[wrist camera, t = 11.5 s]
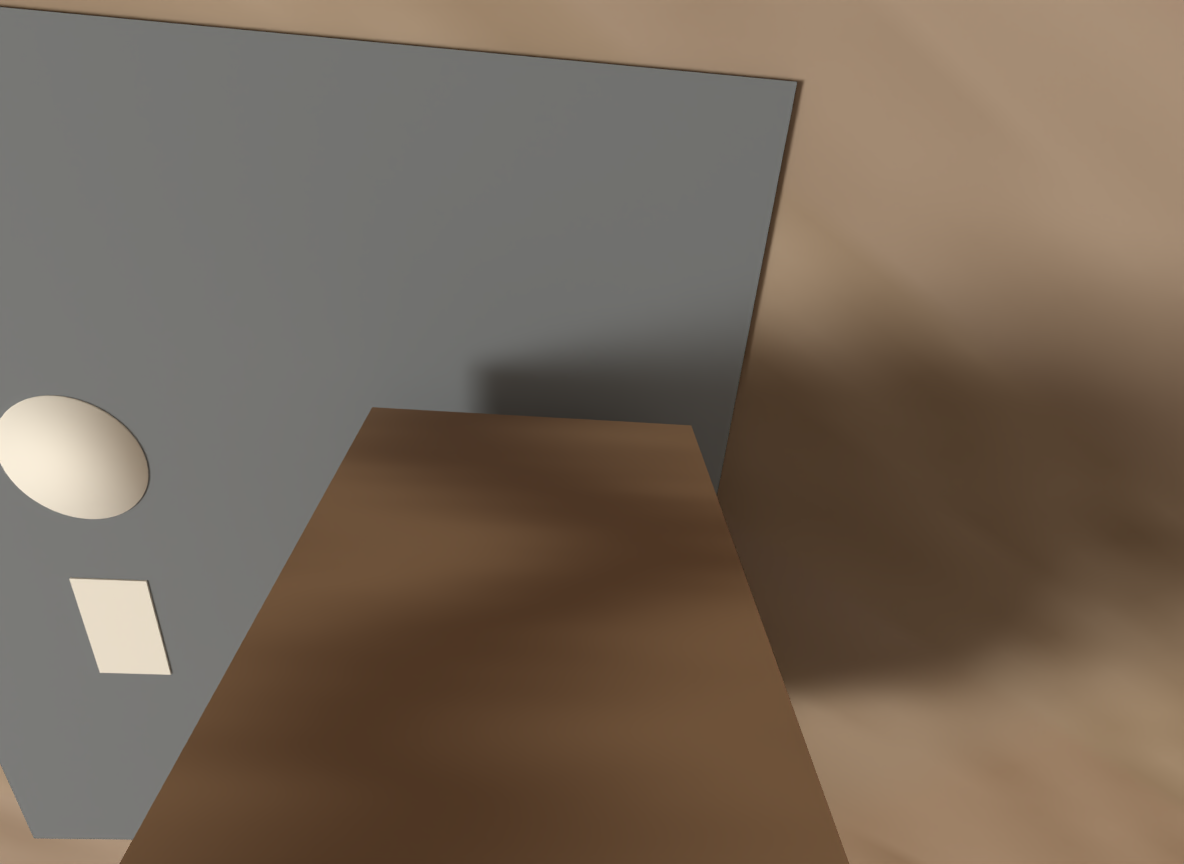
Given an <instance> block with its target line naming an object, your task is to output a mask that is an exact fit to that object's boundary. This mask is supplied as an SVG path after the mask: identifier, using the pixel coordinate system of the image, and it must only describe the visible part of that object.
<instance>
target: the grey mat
mask: <svg viewBox="0 0 1184 864" xmlns="http://www.w3.org/2000/svg"><path fill="white" fill-rule="evenodd" d="M796 86H797V82H794V81H783V80H773V79H762V78H751V77H741V76H730V75H719V74H709V73H698V72H687V71H677V70H666V69H655V68H645V67H634V66H623V65H613V64H602V63H591V62H581V61H570V60H559V59H549V58H538V57H527V56H517V55H506V54H496V53H485V52H474V51H464V50H453V49H442V48H432V47H421V46H410V45H400V44H389V43H378V42H368V41H357V40H346V39H336V38H325V37H314V36H304V35H293V34H282V33H272V32H261V31H250V30H240V29H229V28H218V27H208V26H197V25H186V24H176V23H165V22H154V21H144V20H133V19H122V18H112V17H101V16H90V15H80V14H69V13H58V12H48V11H37V10H26V9H16V8H5V7H0V764H1V766H2V769H3V771H4V773H5V775H6V777H7V780H8V782H9V784H10V786H11V788H12V791H13V793H14V795H15V797H16V800H17V802H18V804H19V806H20V808H21V811H22V813H23V815H24V817H25V819H26V822H27V824H28V826H29V828H30V830H31V833H32V835H33V837H34V838H50V839H131V840H133V838H134V837H135V835H136V833H137V831H138V829H139V828H140V826H141V824H142V822H143V820H144V819H145V817H146V815H147V813H148V811H149V810H150V808H151V806H152V804H153V802H154V801H155V799H156V797H157V795H158V793H159V791H160V790H161V788H162V786H163V784H164V782H165V781H166V779H167V777H168V775H169V773H170V772H171V770H172V768H173V766H174V764H175V763H176V761H177V759H178V757H179V755H180V754H181V752H182V750H183V748H184V746H185V744H186V743H187V741H188V739H189V737H190V735H191V734H192V732H193V730H194V728H195V726H196V725H197V723H198V721H199V719H200V717H201V716H202V714H203V712H204V710H205V708H206V707H207V705H208V703H209V701H210V699H211V698H212V696H213V694H214V692H215V690H216V688H217V687H218V685H219V683H220V681H221V679H222V678H223V676H224V674H225V672H226V670H227V669H228V667H229V665H230V663H231V661H232V660H233V658H234V656H235V654H236V652H237V651H238V649H239V647H240V645H241V643H242V641H243V640H244V638H245V636H246V634H247V632H248V631H249V629H250V627H251V625H252V623H253V622H254V620H255V618H256V616H257V614H258V613H259V611H260V609H261V607H262V605H263V604H264V602H265V600H266V598H267V596H268V595H269V593H270V591H271V589H272V587H273V585H274V584H275V582H276V580H277V578H278V576H279V575H280V573H281V571H282V569H283V567H284V566H285V564H286V562H287V560H288V558H289V557H290V555H291V553H292V551H293V549H294V548H295V546H296V544H297V542H298V540H299V538H300V537H301V535H302V533H303V531H304V529H305V528H306V526H307V524H308V522H309V520H310V519H311V517H312V515H313V513H314V511H315V510H316V508H317V506H318V504H319V502H320V501H321V499H322V497H323V495H324V493H325V492H326V490H327V488H328V486H329V484H330V482H331V481H332V479H333V477H334V475H335V473H336V472H337V470H338V468H339V466H340V464H341V463H342V461H343V459H344V457H345V455H346V454H347V452H348V450H349V448H350V446H351V445H352V443H353V441H354V439H355V437H356V435H357V434H358V432H359V430H360V428H361V426H362V425H363V423H364V421H365V419H366V417H367V416H368V414H369V412H370V410H371V408H372V407H378V408H395V409H413V410H430V411H448V412H465V413H483V414H500V415H518V416H535V417H553V418H570V419H588V420H605V421H623V422H640V423H658V424H675V425H691V426H692V429H693V432H694V435H695V437H696V440H697V443H698V446H699V448H700V451H701V454H702V457H703V460H704V462H705V465H706V468H707V471H708V473H709V476H710V479H711V482H712V484H713V487H714V490H715V493H716V496H717V492H718V487H719V482H720V477H721V472H722V467H723V461H724V456H725V451H726V446H727V441H728V436H729V430H730V425H731V420H732V415H733V410H734V405H735V400H736V394H737V389H738V384H739V379H740V374H741V369H742V364H743V358H744V353H745V348H746V343H747V338H748V333H749V328H750V322H751V317H752V312H753V307H754V302H755V297H756V291H757V286H758V281H759V276H760V271H761V266H762V261H763V255H764V250H765V245H766V240H767V235H768V230H769V225H770V219H771V214H772V209H773V204H774V199H775V194H776V189H777V183H778V178H779V173H780V168H781V163H782V158H783V152H784V147H785V142H786V137H787V132H788V127H789V122H790V116H791V111H792V106H793V101H794V96H795V91H796Z"/></svg>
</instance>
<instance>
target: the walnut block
mask: <svg viewBox="0 0 1184 864" xmlns="http://www.w3.org/2000/svg"><path fill="white" fill-rule="evenodd" d="M120 864H849V862H848V859H847V857H846V854H845V851H844V848H843V846H842V843H841V840H840V837H839V834H838V832H837V829H836V826H835V823H834V821H833V818H832V815H831V812H830V809H829V807H828V804H827V801H826V798H825V796H824V793H823V790H822V787H821V784H820V782H819V779H818V776H817V773H816V771H815V768H814V765H813V762H812V759H811V757H810V754H809V751H808V748H807V746H806V743H805V740H804V737H803V734H802V732H801V729H800V726H799V723H798V721H797V718H796V715H795V712H794V709H793V707H792V704H791V701H790V698H789V696H788V693H787V690H786V687H785V684H784V682H783V679H782V676H781V673H780V671H779V668H778V665H777V662H776V659H775V657H774V654H773V651H772V648H771V646H770V643H769V640H768V637H767V634H766V632H765V629H764V626H763V623H762V621H761V618H760V615H759V612H758V609H757V607H756V604H755V601H754V598H753V596H752V593H751V590H750V587H749V584H748V582H747V579H746V576H745V573H744V571H743V568H742V565H741V562H740V559H739V557H738V554H737V551H736V548H735V546H734V543H733V540H732V537H731V534H730V532H729V529H728V526H727V523H726V521H725V518H724V515H723V512H722V509H721V507H720V504H719V501H718V498H717V496H716V493H715V490H714V487H713V484H712V482H711V479H710V476H709V473H708V471H707V468H706V465H705V462H704V460H703V457H702V454H701V451H700V448H699V446H698V443H697V440H696V437H695V435H694V432H693V429H692V426H691V425H675V424H658V423H640V422H623V421H605V420H588V419H570V418H553V417H535V416H518V415H500V414H483V413H465V412H448V411H430V410H413V409H395V408H378V407H372V408H371V410H370V412H369V414H368V416H367V417H366V419H365V421H364V423H363V425H362V426H361V428H360V430H359V432H358V434H357V435H356V437H355V439H354V441H353V443H352V445H351V446H350V448H349V450H348V452H347V454H346V455H345V457H344V459H343V461H342V463H341V464H340V466H339V468H338V470H337V472H336V473H335V475H334V477H333V479H332V481H331V482H330V484H329V486H328V488H327V490H326V492H325V493H324V495H323V497H322V499H321V501H320V502H319V504H318V506H317V508H316V510H315V511H314V513H313V515H312V517H311V519H310V520H309V522H308V524H307V526H306V528H305V529H304V531H303V533H302V535H301V537H300V538H299V540H298V542H297V544H296V546H295V548H294V549H293V551H292V553H291V555H290V557H289V558H288V560H287V562H286V564H285V566H284V567H283V569H282V571H281V573H280V575H279V576H278V578H277V580H276V582H275V584H274V585H273V587H272V589H271V591H270V593H269V595H268V596H267V598H266V600H265V602H264V604H263V605H262V607H261V609H260V611H259V613H258V614H257V616H256V618H255V620H254V622H253V623H252V625H251V627H250V629H249V631H248V632H247V634H246V636H245V638H244V640H243V641H242V643H241V645H240V647H239V649H238V651H237V652H236V654H235V656H234V658H233V660H232V661H231V663H230V665H229V667H228V669H227V670H226V672H225V674H224V676H223V678H222V679H221V681H220V683H219V685H218V687H217V688H216V690H215V692H214V694H213V696H212V698H211V699H210V701H209V703H208V705H207V707H206V708H205V710H204V712H203V714H202V716H201V717H200V719H199V721H198V723H197V725H196V726H195V728H194V730H193V732H192V734H191V735H190V737H189V739H188V741H187V743H186V744H185V746H184V748H183V750H182V752H181V754H180V755H179V757H178V759H177V761H176V763H175V764H174V766H173V768H172V770H171V772H170V773H169V775H168V777H167V779H166V781H165V782H164V784H163V786H162V788H161V790H160V791H159V793H158V795H157V797H156V799H155V801H154V802H153V804H152V806H151V808H150V810H149V811H148V813H147V815H146V817H145V819H144V820H143V822H142V824H141V826H140V828H139V829H138V831H137V833H136V835H135V837H134V838H133V840H132V842H131V844H130V846H129V847H128V849H127V851H126V853H125V855H124V857H123V858H122V860H121V862H120Z"/></svg>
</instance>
